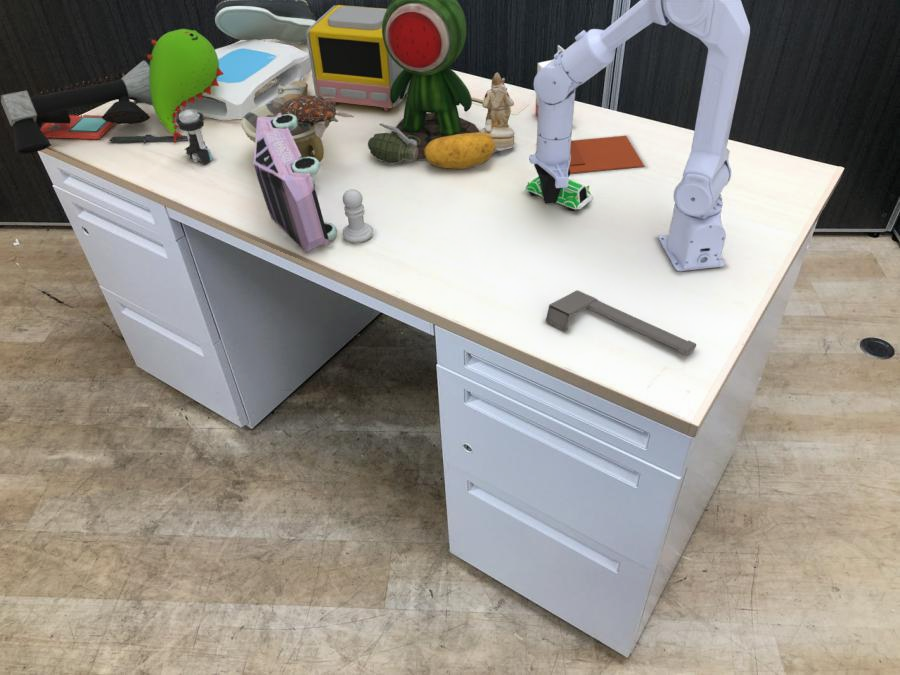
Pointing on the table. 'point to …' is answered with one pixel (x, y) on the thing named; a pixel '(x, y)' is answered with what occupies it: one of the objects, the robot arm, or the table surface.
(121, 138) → the knife
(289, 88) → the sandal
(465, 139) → the potato
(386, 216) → the table surface
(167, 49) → the toy
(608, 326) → the table surface
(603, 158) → the rust cloth
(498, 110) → the figurine
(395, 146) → the grenade
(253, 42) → the document scanner
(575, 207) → the toy car
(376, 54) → the alarm clock
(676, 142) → the table surface
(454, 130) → the figurine
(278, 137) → the toy car
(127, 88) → the telephone
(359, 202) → the chess piece
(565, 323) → the toilet paper hanger
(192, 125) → the push button
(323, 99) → the toy
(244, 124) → the bowl
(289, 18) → the boat shoe
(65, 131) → the handheld gaming console
